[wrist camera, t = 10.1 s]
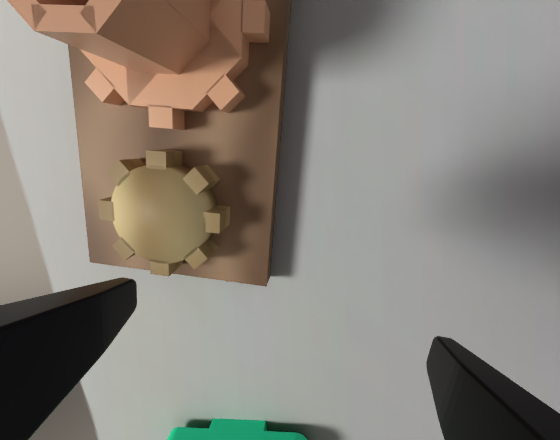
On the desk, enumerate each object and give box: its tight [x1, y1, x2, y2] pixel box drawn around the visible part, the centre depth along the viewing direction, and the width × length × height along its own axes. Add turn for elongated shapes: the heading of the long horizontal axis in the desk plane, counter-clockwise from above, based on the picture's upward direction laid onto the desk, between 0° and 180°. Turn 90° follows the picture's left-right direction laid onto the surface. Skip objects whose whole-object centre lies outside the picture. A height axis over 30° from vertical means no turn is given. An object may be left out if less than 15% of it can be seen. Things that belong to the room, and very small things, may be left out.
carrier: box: [68, 0, 291, 286], centre depth 16 cm, size 13×21×6 cm, turn 175°
